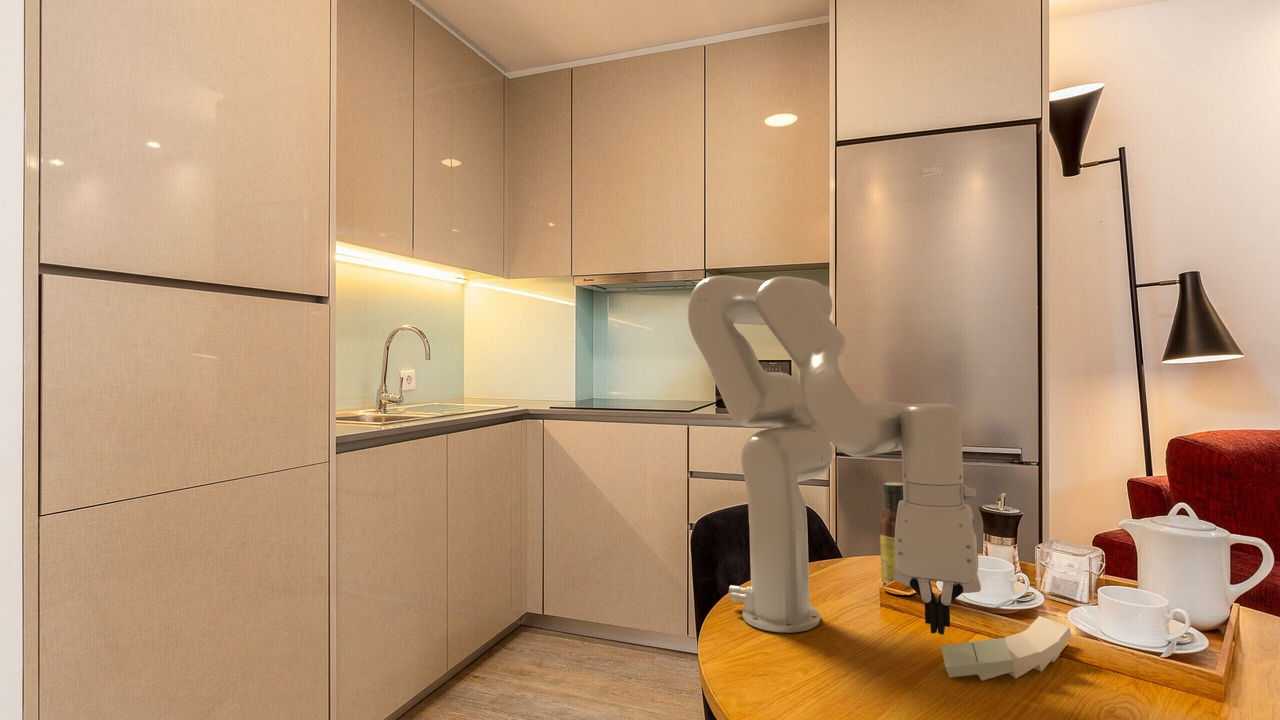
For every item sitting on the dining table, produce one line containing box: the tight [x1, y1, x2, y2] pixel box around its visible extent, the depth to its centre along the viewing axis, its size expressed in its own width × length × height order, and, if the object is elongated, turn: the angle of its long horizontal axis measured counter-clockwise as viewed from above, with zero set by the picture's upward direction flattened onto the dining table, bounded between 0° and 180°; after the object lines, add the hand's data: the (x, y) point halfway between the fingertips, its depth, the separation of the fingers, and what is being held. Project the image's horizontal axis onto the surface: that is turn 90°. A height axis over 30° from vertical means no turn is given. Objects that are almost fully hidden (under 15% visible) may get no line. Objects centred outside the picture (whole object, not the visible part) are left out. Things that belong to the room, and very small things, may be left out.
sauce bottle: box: [879, 481, 912, 589], centre depth 116 cm, size 6×6×20 cm
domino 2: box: [1007, 625, 1062, 679], centre depth 85 cm, size 2×4×8 cm
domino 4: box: [1049, 652, 1061, 663], centre depth 91 cm, size 2×4×8 cm
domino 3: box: [1028, 615, 1072, 673], centre depth 88 cm, size 2×4×8 cm
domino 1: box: [976, 631, 1042, 681], centre depth 84 cm, size 2×4×8 cm
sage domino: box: [940, 637, 1016, 678], centre depth 83 cm, size 2×4×8 cm
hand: (937, 630), depth 85 cm, fingers closed
